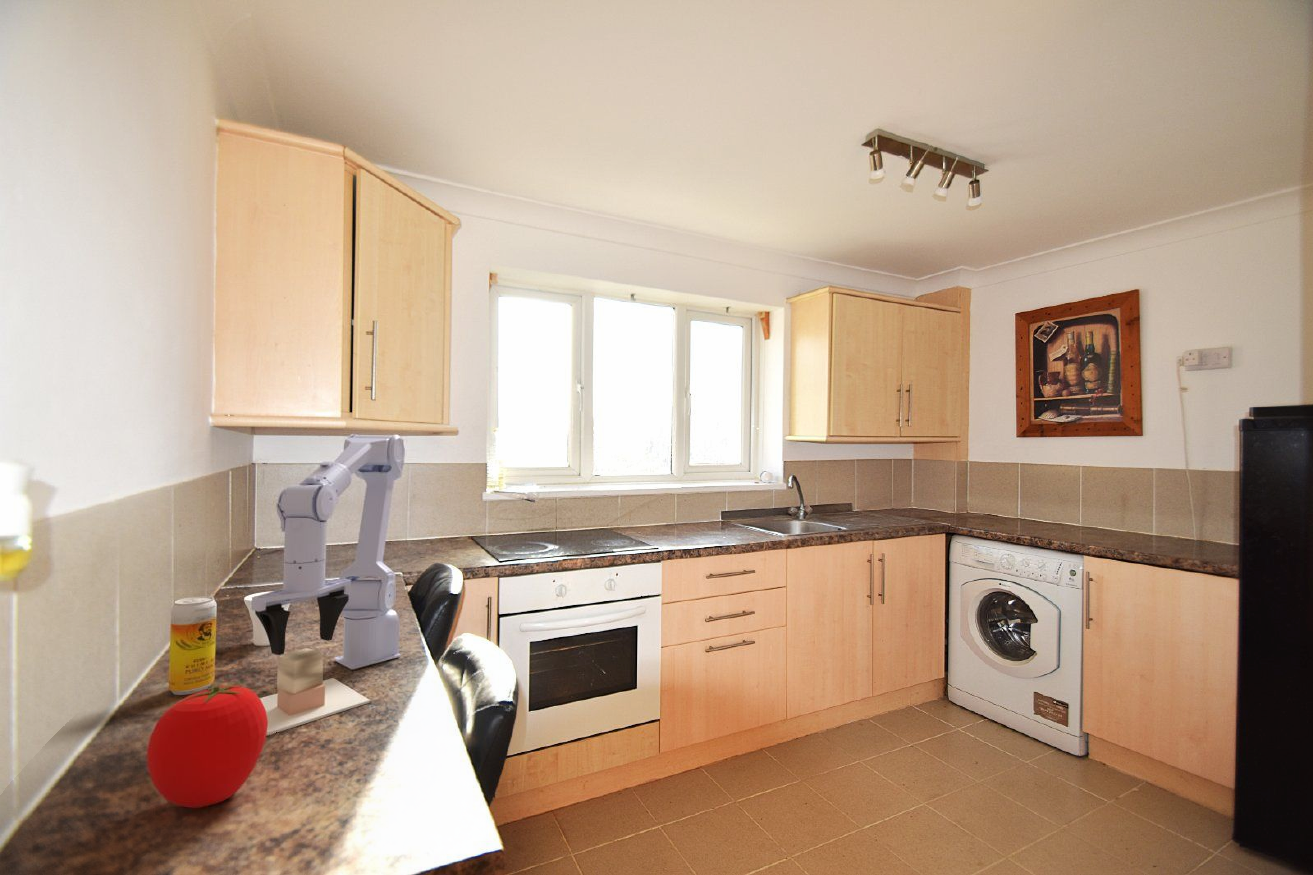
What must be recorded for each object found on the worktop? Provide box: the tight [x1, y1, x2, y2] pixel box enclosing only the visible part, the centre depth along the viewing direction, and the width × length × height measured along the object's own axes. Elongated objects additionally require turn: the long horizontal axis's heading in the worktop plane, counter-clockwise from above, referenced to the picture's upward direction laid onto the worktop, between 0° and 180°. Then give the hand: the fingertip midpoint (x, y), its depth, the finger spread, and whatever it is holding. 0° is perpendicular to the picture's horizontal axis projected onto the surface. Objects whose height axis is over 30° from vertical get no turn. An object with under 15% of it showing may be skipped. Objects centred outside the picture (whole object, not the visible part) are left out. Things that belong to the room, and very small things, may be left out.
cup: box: [243, 590, 291, 647], centre depth 123 cm, size 9×9×10 cm
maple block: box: [276, 647, 324, 694], centre depth 92 cm, size 4×4×5 cm
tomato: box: [146, 682, 268, 809], centre depth 68 cm, size 11×11×13 cm
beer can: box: [168, 595, 218, 696], centre depth 99 cm, size 6×6×15 cm
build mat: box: [259, 677, 371, 737], centre depth 92 cm, size 16×14×1 cm
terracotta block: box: [277, 684, 325, 716], centre depth 92 cm, size 5×5×3 cm
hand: (302, 646), depth 92 cm, fingers open, 7 cm apart
